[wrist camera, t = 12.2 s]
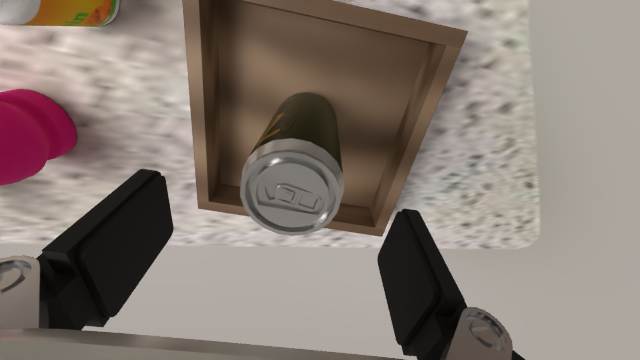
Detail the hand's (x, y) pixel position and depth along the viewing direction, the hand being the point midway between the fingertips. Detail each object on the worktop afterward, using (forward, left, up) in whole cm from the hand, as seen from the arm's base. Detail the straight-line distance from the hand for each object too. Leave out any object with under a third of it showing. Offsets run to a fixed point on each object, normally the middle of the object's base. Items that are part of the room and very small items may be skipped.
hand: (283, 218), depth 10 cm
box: (0, 0, -15) cm, 15 cm away
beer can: (0, 0, -14) cm, 14 cm away
